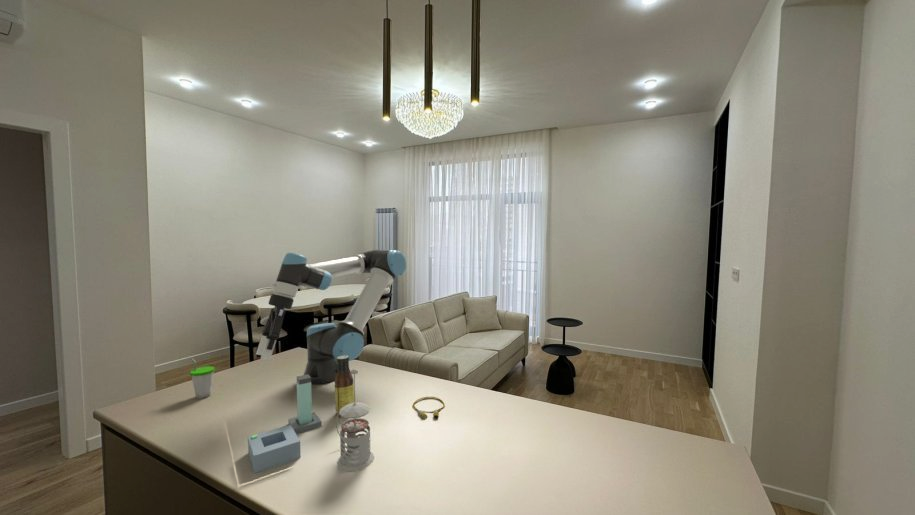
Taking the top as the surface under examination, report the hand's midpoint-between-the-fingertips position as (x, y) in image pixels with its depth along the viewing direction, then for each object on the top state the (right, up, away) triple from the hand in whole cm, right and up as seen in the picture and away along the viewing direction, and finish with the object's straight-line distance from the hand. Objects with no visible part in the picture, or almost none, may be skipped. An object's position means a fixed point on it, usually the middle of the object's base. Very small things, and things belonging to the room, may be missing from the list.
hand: (262, 357), depth 121 cm
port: (+15, -21, -22) cm, 34 cm away
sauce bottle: (+27, -20, +2) cm, 34 cm away
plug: (+17, -20, -6) cm, 27 cm away
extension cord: (+55, -20, +6) cm, 59 cm away
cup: (-31, -20, +16) cm, 40 cm away
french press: (+37, -21, -23) cm, 49 cm away
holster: (+17, -20, -6) cm, 27 cm away
